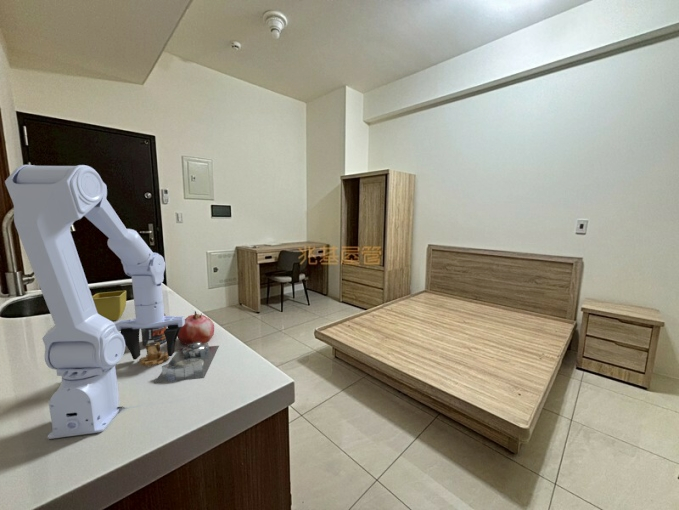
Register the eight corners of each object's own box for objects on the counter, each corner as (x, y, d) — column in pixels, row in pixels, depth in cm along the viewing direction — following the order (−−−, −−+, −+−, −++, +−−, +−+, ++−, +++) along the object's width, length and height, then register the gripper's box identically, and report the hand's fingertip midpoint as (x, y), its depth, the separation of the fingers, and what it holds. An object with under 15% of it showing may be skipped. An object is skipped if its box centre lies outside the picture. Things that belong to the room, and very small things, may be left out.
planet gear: (163, 368, 68) (162, 348, 68) (134, 371, 67) (132, 351, 67) (173, 356, 75) (171, 337, 74) (146, 358, 73) (144, 339, 73)
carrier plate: (204, 382, 63) (204, 376, 63) (153, 387, 61) (153, 381, 61) (219, 349, 79) (219, 344, 78) (179, 352, 77) (179, 347, 76)
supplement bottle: (155, 351, 77) (152, 310, 76) (137, 349, 78) (133, 309, 77) (172, 341, 83) (169, 303, 82) (155, 340, 84) (151, 302, 83)
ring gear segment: (200, 376, 63) (199, 366, 63) (159, 381, 62) (158, 370, 61) (203, 370, 66) (203, 360, 66) (164, 374, 64) (163, 364, 64)
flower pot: (99, 317, 103) (96, 292, 102) (129, 313, 107) (126, 290, 106) (91, 325, 95) (87, 299, 94) (123, 321, 99) (120, 296, 98)
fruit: (180, 339, 85) (177, 306, 83) (215, 334, 88) (213, 303, 87) (175, 353, 76) (172, 317, 75) (214, 347, 79) (212, 312, 78)
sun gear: (205, 356, 72) (205, 347, 72) (179, 359, 71) (178, 349, 71) (211, 346, 78) (210, 337, 78) (187, 348, 77) (186, 339, 76)
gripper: (187, 295, 74) (191, 345, 76) (123, 299, 71) (129, 351, 73) (177, 304, 67) (182, 358, 69) (106, 308, 64) (113, 365, 66)
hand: (154, 355), depth 71 cm, fingers open, 7 cm apart
